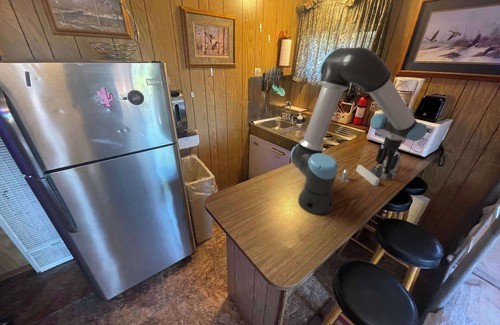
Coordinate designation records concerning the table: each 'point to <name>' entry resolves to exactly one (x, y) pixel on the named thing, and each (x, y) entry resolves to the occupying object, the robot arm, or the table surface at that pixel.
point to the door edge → (367, 175)
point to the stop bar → (379, 171)
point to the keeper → (391, 176)
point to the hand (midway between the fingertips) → (379, 175)
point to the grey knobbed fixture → (344, 176)
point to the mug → (395, 166)
